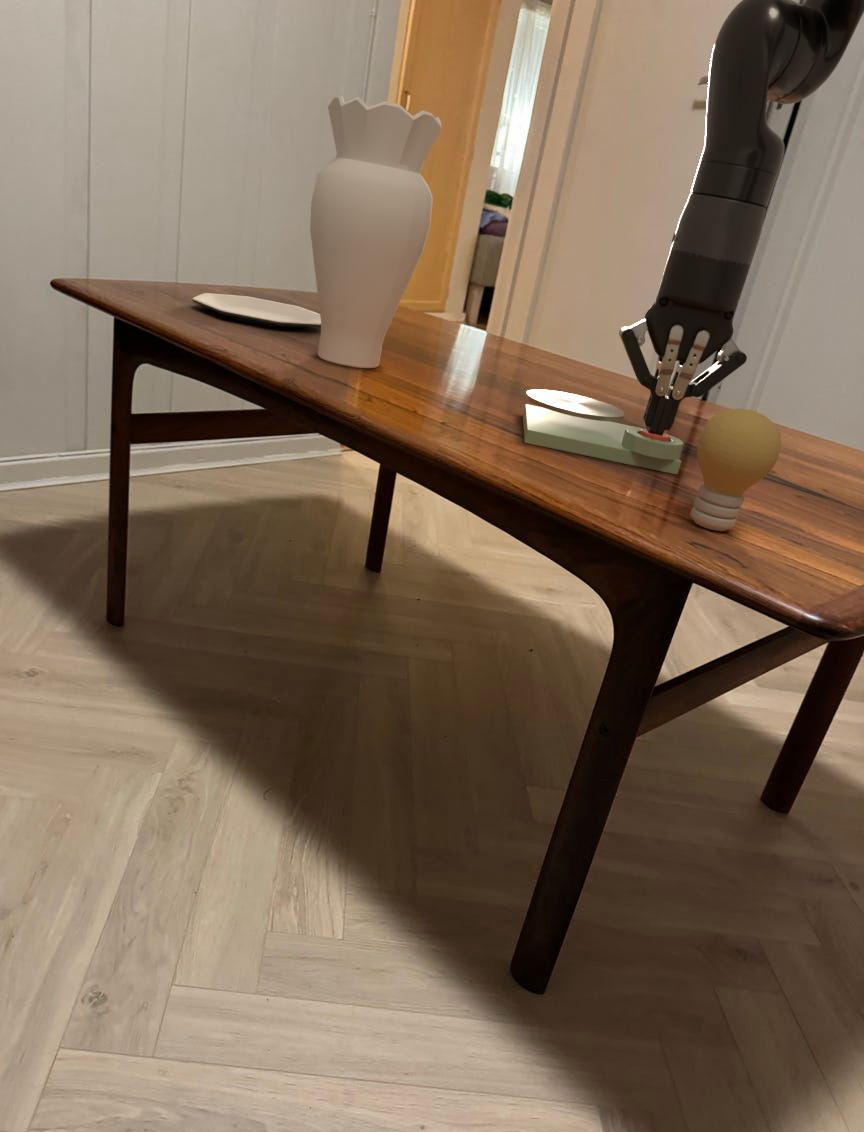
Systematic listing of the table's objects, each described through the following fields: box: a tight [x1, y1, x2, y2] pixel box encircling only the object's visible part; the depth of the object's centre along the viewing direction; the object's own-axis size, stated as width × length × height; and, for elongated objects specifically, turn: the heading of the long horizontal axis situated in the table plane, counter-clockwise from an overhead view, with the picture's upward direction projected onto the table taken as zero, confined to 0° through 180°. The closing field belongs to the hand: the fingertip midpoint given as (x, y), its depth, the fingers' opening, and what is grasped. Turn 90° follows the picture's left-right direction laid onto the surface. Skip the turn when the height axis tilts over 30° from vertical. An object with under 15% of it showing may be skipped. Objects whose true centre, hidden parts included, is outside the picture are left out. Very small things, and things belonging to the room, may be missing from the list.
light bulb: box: [690, 408, 782, 532], centre depth 75 cm, size 6×6×10 cm
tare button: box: [640, 428, 670, 442], centre depth 94 cm, size 3×3×2 cm
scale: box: [522, 403, 685, 476], centre depth 98 cm, size 16×15×3 cm
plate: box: [191, 292, 321, 329], centre depth 137 cm, size 20×20×2 cm
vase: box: [309, 94, 443, 369], centre depth 111 cm, size 15×15×29 cm
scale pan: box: [525, 389, 626, 422], centre depth 100 cm, size 11×11×1 cm
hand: (654, 432), depth 93 cm, fingers closed
